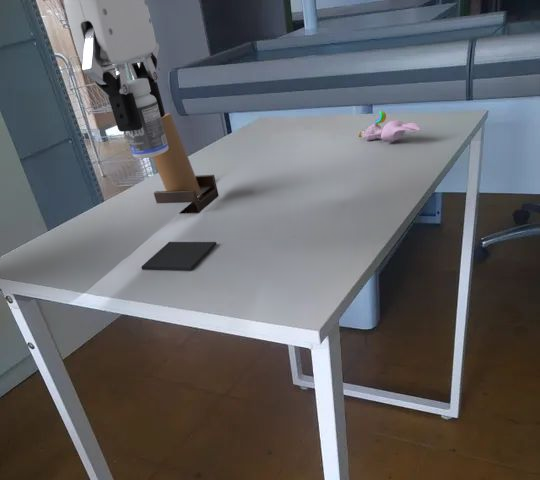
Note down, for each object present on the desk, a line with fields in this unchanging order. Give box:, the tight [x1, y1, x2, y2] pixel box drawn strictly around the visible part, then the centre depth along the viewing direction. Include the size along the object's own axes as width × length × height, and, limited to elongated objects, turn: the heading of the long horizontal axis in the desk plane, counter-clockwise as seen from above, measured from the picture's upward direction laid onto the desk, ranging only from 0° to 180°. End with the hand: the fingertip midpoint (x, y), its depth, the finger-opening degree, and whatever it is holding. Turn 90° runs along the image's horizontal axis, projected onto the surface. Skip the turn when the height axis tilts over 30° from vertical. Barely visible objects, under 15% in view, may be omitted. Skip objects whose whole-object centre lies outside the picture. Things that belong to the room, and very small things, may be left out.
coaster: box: [141, 241, 217, 272], centre depth 78 cm, size 8×8×1 cm
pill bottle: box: [125, 78, 168, 159], centre depth 68 cm, size 5×5×8 cm
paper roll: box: [151, 112, 203, 200], centre depth 92 cm, size 14×6×6 cm
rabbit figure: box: [357, 110, 422, 144], centre depth 105 cm, size 6×6×15 cm
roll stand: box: [153, 174, 219, 215], centre depth 95 cm, size 8×8×4 cm
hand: (142, 122), depth 68 cm, fingers closed on pill bottle, 4 cm apart
